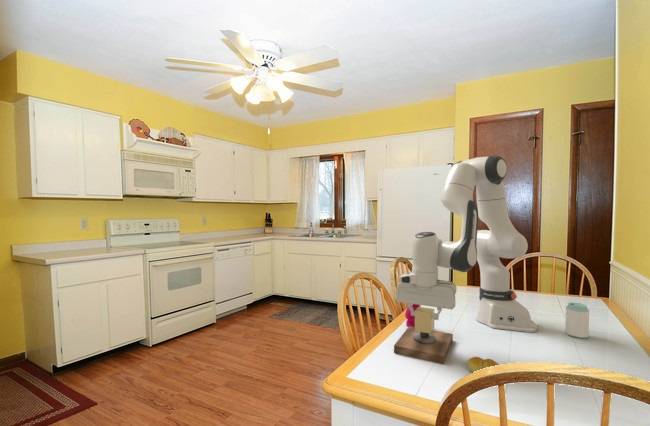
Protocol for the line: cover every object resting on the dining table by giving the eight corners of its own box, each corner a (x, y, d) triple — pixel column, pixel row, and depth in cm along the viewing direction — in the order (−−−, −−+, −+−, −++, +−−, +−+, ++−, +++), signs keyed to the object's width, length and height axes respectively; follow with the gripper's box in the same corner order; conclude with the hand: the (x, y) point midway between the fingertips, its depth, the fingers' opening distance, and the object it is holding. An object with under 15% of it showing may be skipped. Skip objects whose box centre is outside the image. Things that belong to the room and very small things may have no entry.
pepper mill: (424, 329, 130) (424, 280, 129) (405, 328, 131) (405, 279, 131) (422, 323, 137) (422, 276, 136) (404, 322, 138) (404, 275, 138)
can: (568, 337, 122) (569, 306, 122) (562, 331, 129) (563, 300, 128) (591, 340, 119) (592, 308, 119) (584, 333, 126) (585, 302, 126)
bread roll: (469, 363, 103) (469, 350, 103) (501, 370, 98) (501, 357, 98) (464, 374, 96) (464, 360, 96) (498, 383, 91) (498, 369, 91)
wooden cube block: (434, 328, 115) (434, 308, 115) (431, 333, 111) (431, 313, 110) (418, 325, 118) (418, 306, 118) (414, 330, 113) (414, 310, 113)
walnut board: (452, 340, 119) (452, 314, 119) (443, 363, 102) (443, 333, 102) (409, 332, 127) (409, 307, 127) (393, 352, 110) (394, 324, 109)
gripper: (457, 279, 112) (457, 319, 112) (399, 273, 122) (399, 310, 122) (455, 283, 106) (454, 325, 106) (394, 277, 116) (394, 315, 116)
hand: (424, 317), depth 114 cm, fingers open, 6 cm apart
